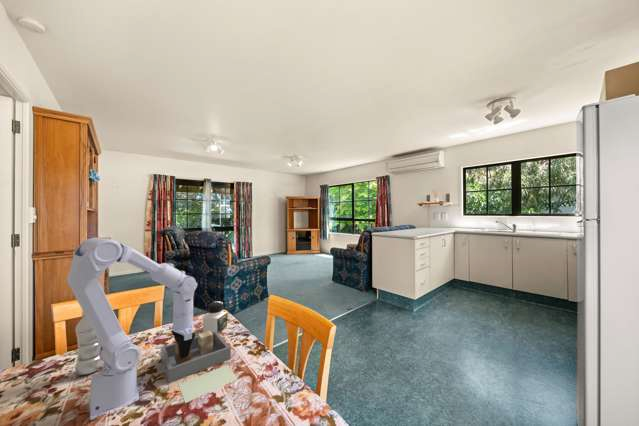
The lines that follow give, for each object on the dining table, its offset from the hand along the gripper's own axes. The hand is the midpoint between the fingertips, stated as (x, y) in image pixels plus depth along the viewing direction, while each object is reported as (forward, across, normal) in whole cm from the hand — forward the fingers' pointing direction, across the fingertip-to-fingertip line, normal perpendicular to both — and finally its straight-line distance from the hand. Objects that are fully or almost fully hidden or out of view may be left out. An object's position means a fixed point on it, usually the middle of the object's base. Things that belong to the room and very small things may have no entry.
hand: (182, 353), depth 78 cm
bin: (+4, +1, -4) cm, 6 cm away
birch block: (+4, +4, -8) cm, 10 cm away
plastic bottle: (+5, +17, +23) cm, 29 cm away
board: (+4, -14, -4) cm, 15 cm away
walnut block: (+2, 0, 0) cm, 2 cm away
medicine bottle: (+4, +19, -16) cm, 25 cm away
